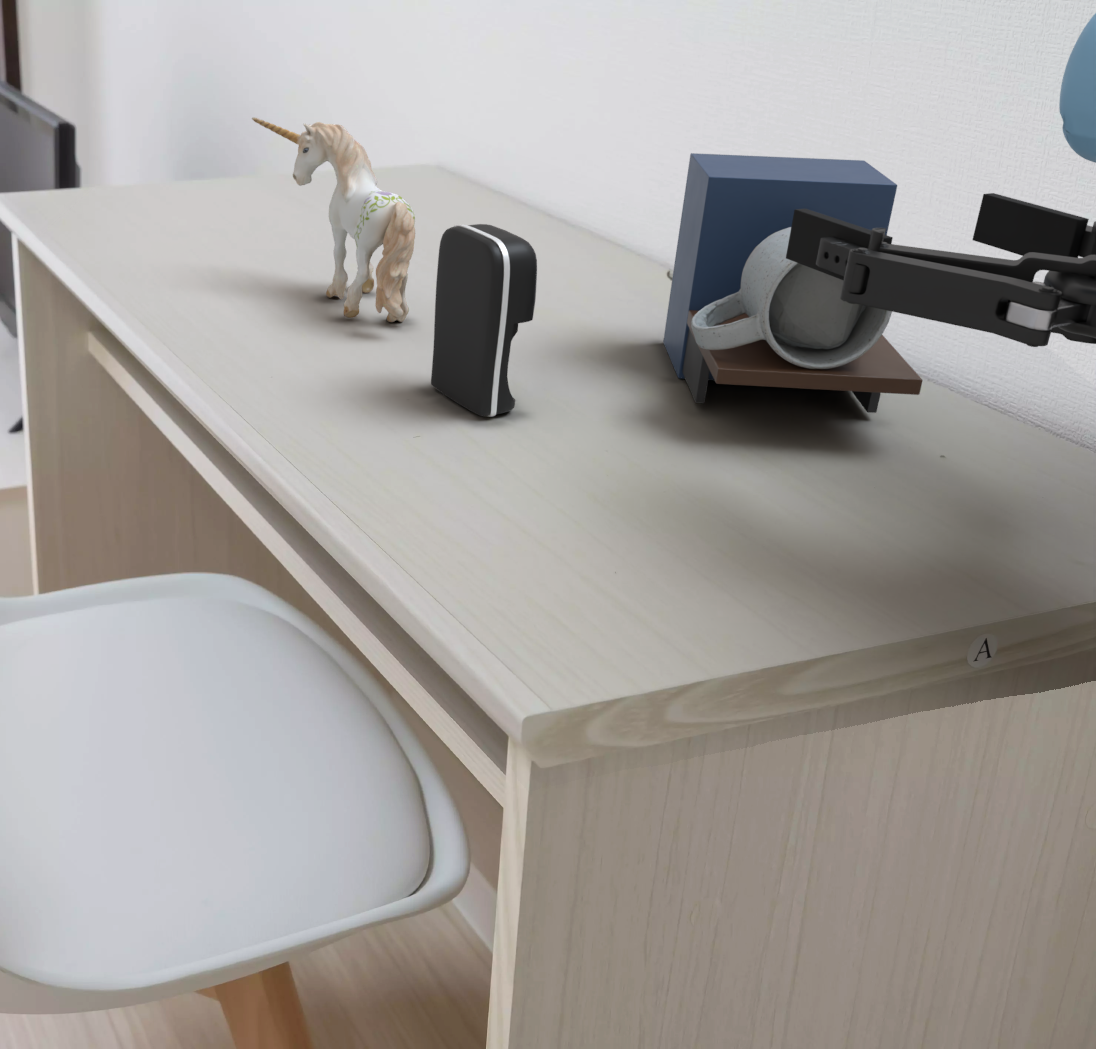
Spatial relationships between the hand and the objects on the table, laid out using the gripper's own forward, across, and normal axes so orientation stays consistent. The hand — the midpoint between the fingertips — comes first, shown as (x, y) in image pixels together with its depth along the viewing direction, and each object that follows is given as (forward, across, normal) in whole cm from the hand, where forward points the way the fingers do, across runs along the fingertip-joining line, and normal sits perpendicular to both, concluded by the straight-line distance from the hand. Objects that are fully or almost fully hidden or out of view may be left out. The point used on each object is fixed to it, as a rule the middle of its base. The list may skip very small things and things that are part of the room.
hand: (891, 224), depth 76 cm
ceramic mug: (+6, -1, -9) cm, 11 cm away
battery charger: (+15, -17, -14) cm, 27 cm away
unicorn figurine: (+38, -19, -14) cm, 45 cm away
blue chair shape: (+10, +3, -14) cm, 18 cm away
